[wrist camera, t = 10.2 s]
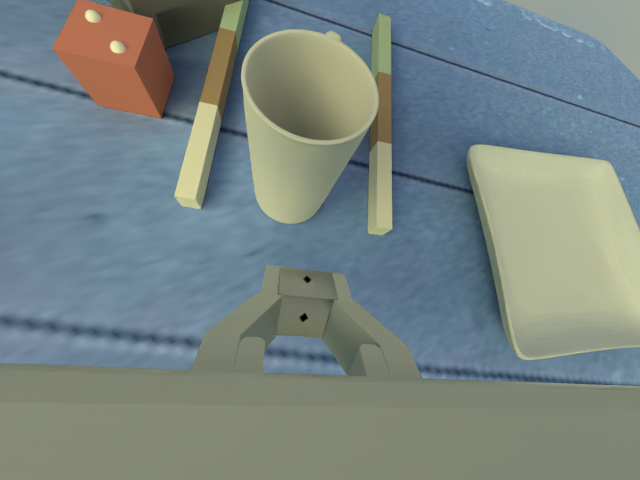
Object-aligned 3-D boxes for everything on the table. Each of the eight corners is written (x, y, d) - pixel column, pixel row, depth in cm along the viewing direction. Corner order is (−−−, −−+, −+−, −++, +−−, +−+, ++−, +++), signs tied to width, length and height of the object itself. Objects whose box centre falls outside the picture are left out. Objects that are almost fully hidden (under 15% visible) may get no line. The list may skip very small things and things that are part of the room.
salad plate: (581, 172, 34) (615, 157, 30) (640, 340, 28) (689, 344, 25) (446, 158, 29) (468, 139, 26) (484, 356, 24) (520, 363, 20)
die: (161, 118, 22) (131, 62, 17) (98, 105, 22) (47, 42, 16) (174, 75, 24) (150, 12, 19) (116, 62, 23) (74, -9, 18)
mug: (313, 237, 23) (363, 165, 11) (240, 213, 22) (216, 109, 10) (340, 149, 26) (399, 23, 14) (277, 124, 25) (289, -29, 14)
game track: (382, 235, 24) (392, 229, 22) (182, 206, 21) (174, 196, 19) (383, 34, 32) (390, 17, 30) (237, -11, 28) (235, -33, 27)
